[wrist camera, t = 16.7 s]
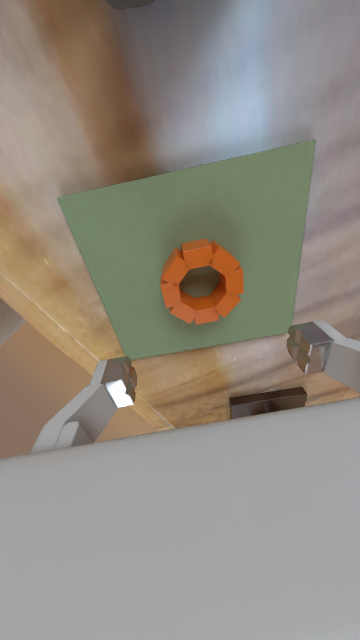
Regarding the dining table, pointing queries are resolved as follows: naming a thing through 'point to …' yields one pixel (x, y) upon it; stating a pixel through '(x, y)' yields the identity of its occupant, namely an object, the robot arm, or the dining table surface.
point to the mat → (190, 225)
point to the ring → (208, 305)
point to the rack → (267, 402)
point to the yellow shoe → (128, 3)
